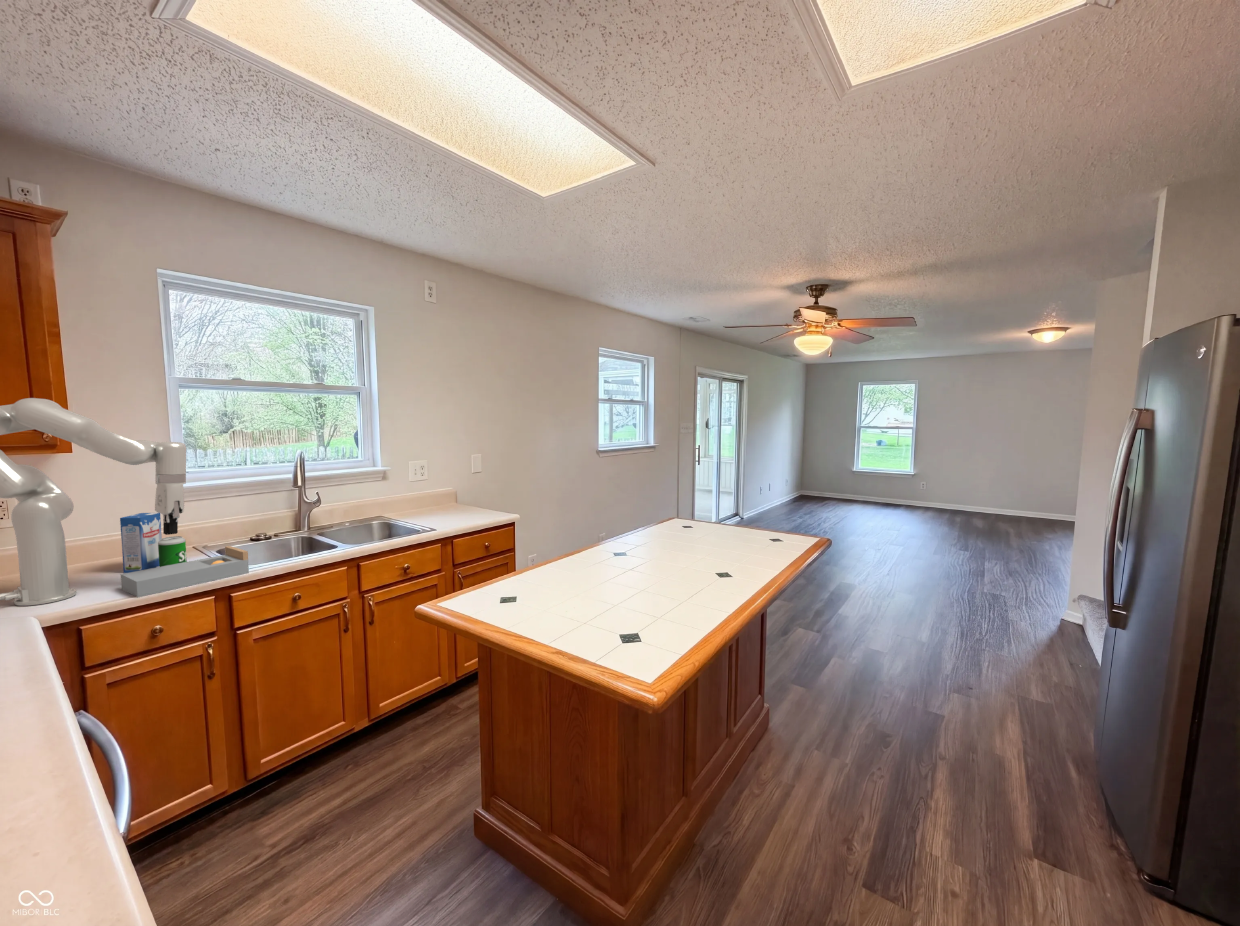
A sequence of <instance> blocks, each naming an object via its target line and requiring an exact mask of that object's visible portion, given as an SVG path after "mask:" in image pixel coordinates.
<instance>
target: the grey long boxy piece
mask: <svg viewBox="0 0 1240 926" xmlns="http://www.w3.org/2000/svg"><path fill="white" fill-rule="evenodd" d="M224 550H225V551H224V552H225V553H224V554H222V555H218V556H216V555H215V556H212V557H211V556H210V557H205V558H200V559H196V560H194V559H193V560H189V561H187V562H183V563H178V564H173V565H167V566H162V567H156V568H151V569H146V570H140V571H135V572H130V573H124V572H123V573H121V574H120V583H121V587H120V588H121V590H122V591H124V592H126V593H128V594H130V595H132V596H134V597H136V598H140V597H141V598H142V597H146V596H150V595H154V594H160V593H163V592H168V591H174V590H178V589H184V588H187V587H192V586H195V585H200V584H206V583H209V582H214V581H218V580H223V579H228V578H233V577H236V576H237V577H238V576H241V575H247V574H249V572H250V571H249V567H250V566H249V552H248V550H245V549H242V548H238V547H235V546H231V545H228V546H224ZM219 560H220V561H224V562H222V563H217V564H212V563H213V562H215V561H219ZM211 564H212V565H211Z"/></svg>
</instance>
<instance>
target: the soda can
mask: <svg viewBox="0 0 1240 926" xmlns="http://www.w3.org/2000/svg"><path fill="white" fill-rule="evenodd" d="M186 543H187V541H186V538H184V537H183V536H179V535H178V536H177V535H176V536H165V537H163V538H162V539H161V540H160V541H159V542H158V552H159V567H162V566H167V565H173V564H178V563H183V562H188V561H187V560H188V559H187V546H186V545H187V544H186Z"/></svg>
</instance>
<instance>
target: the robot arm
mask: <svg viewBox="0 0 1240 926" xmlns="http://www.w3.org/2000/svg"><path fill="white" fill-rule="evenodd" d="M32 430H36V431H39V432H41V433H44V434H47V435H50V436H53V437H55V438H59V439H61V440H64V441H67V442H70V443H73V444H75V445H77V446H79V447H80V448H84V449H85V450H88V451H90V452H92V453H95V454H97V455H100V456H103V457H105V458H108V459H111V460H113V461H115V462H119V463H122V464H125V465H129V466H139V465H142V464H148V463H155V478H154V479H155V480H154V481H155V485H156V488H155V489H156V490H155V496H154V497H155V498H154V500H155V501H154V511H155V513H160V515H161V514H162V521H163V524H162V525H163V527H162V528H163V530H162V532H163V534H164V535H165V536H167V535H168V536H169V535H175V534H178V531H179V530H178V529H179V528H178V527H179V526H178V523H179V518H180V514H182V513H184V512H185V492H184V490H185V489H184V484H186V483H187V446H186V444H185V443H183V442H179V441H161V442H160V441H150V440H142V439H139V440H134V439H131V438H129V437H126V436H123V435H120V434H118V433H115V432H113V431H110V430H109V429H106V428H105V427H103V426H102V425H101V424H99V423H98V422H97V421H96V420H94V419H93V418H90V417H88V416H85V415H82V414H79V413H76V412H74V411H71V410H69V409H67V408H64V407H62V406H61V405H60V404H59V403H57V402H55V401H53V400H50V399H48V398H47V399H46V398H38V397H37V398H36V397H28V398H22V399H18V400H17V401H15V402H14V403H11V404H5V405H0V436H3V435H8V434H13V433H19V432H25V431H32ZM0 499H15V500H16V501H17V502H18V503H17V504H16V505H14V507H13V508H12V511H11V514H10V515H11V516H10V519H11V524H12V528H13V531H14V535H15V538H16V539H15V540H16V548H17V558H18V571H19V580H20V581H19V582H20V586H18V587H17V589H14V590H12V591H10V592H3V593H0V601H10V600H13V604H14V605H16V606H21V607H22V606H23V607H24V606H36V605H44V604H51V603H54V602H55V603H56V602H59V601H63V600H67V599H70V598H72V597H73V596H76V595H77V592H78V591H77V589H76V588H70V585H69V574H68V573H69V571H68V559H67V558H68V557H67V547H66V537H65V532H64V529H63V525H62V521H63V520H65V519H67V518H69V516H70V515H72V513H73V511H74V503H73V502H74V501H72V499H71V497H69V495H68V494H67V493H66V492H65V491H64V490H63V489H62V488H61V487H60V486H59V485H58V484H57V483H55V481H54V480H52V478H50V477H49V475H47V474H46V473H45V472H44V471H42V470H40V469H39V468H38V467H35V466H33V465H31V464H21V463H19V464H17V463H16V462H14V461H13V460H12V459H11V458H9V457H8V455H7V454H5V452H4V451H3V450H1V449H0Z"/></svg>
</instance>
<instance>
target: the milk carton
mask: <svg viewBox="0 0 1240 926" xmlns="http://www.w3.org/2000/svg"><path fill="white" fill-rule="evenodd" d="M161 521H162V520H161V513H158V512H141V513H136V514H131V515H127V516H122V517H120V518H119V522H120V523H119V525H120V536H121V539H120V541H121V553H122V555H121V556H122V568H123V569H122V570H123V574H124V573H130V572H135V571H140V570H146V569H151V568H157V567H158V566H159V552H158V542H159V541H160V540H161V539H162V537H163V536H162V522H161Z"/></svg>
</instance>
